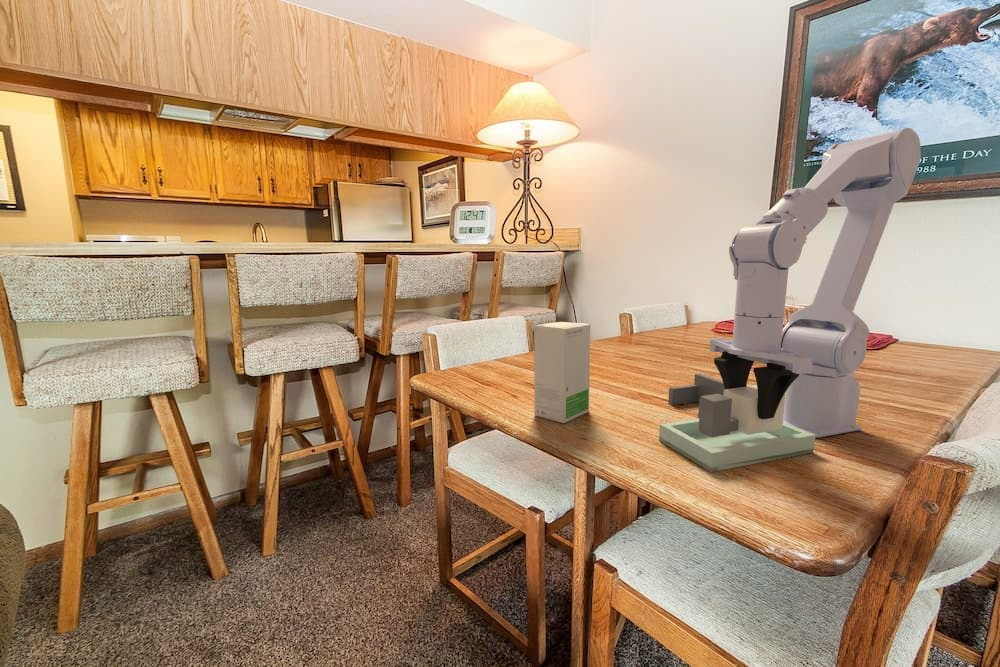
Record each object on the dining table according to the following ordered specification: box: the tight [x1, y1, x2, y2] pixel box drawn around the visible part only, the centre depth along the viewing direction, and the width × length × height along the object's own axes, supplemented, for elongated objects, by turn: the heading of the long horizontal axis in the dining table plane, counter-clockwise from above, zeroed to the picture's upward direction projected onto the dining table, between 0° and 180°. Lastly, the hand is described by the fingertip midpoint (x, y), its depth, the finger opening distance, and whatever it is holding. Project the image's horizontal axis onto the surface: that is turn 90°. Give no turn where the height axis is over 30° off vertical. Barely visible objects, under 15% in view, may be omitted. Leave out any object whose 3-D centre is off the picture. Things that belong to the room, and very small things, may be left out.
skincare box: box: [533, 321, 591, 424], centre depth 73 cm, size 8×7×16 cm
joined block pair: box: [698, 384, 786, 437], centre depth 60 cm, size 11×4×5 cm, turn 107°
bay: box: [667, 373, 725, 418], centre depth 75 cm, size 6×8×5 cm
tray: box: [658, 418, 816, 473], centre depth 61 cm, size 17×10×2 cm, turn 107°
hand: (750, 411), depth 61 cm, fingers closed on joined block pair, 4 cm apart
